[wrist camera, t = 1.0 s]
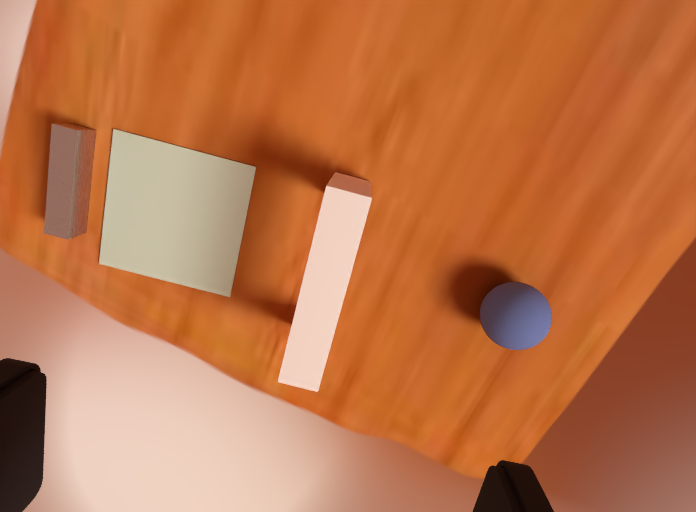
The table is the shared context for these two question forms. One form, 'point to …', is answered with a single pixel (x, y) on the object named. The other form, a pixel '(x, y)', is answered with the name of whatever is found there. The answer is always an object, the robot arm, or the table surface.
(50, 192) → the wall
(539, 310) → the ball
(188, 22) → the table surface
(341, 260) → the bridge
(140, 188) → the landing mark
